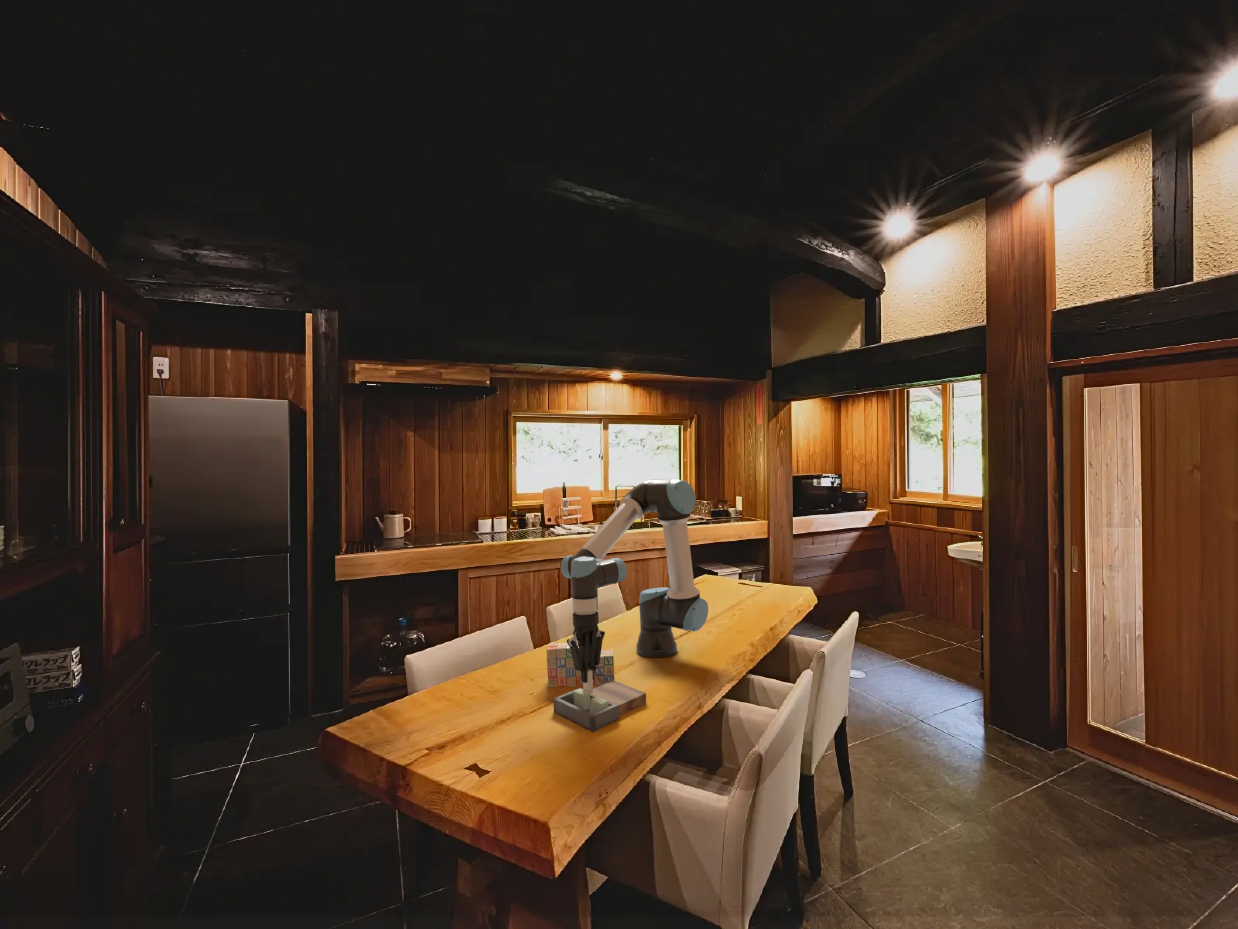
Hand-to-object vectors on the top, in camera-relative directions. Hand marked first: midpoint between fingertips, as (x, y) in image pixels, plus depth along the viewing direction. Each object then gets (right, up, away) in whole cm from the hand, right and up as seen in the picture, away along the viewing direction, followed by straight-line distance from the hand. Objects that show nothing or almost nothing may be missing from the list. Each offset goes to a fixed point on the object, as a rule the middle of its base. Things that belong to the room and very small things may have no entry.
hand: (588, 692), depth 159 cm
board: (+8, -4, +2) cm, 9 cm away
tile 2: (+5, -1, -7) cm, 8 cm away
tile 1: (-1, -1, -1) cm, 2 cm away
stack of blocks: (-3, -5, +18) cm, 19 cm away
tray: (0, -4, -6) cm, 7 cm away
